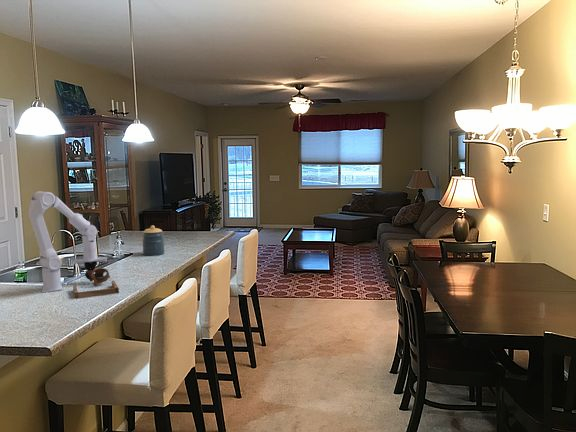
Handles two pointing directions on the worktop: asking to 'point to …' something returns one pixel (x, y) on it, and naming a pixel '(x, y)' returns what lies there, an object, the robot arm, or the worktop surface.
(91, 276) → the pottery mug
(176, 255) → the worktop surface
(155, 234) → the canister
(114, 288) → the corral
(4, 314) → the worktop surface
